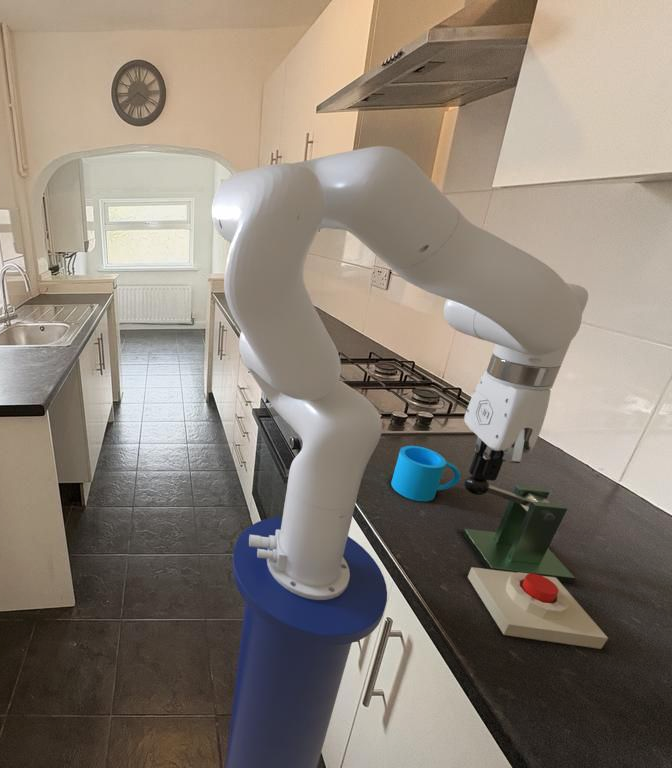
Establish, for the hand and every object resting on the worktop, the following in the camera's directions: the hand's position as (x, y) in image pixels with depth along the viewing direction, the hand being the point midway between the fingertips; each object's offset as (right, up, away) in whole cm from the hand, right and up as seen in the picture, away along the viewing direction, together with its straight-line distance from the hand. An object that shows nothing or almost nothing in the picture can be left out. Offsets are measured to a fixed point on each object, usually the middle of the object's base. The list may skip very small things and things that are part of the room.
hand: (481, 476), depth 66 cm
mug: (+4, -8, +21) cm, 23 cm away
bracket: (+9, -15, +5) cm, 18 cm away
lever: (+4, -4, +1) cm, 6 cm away
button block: (+3, -19, -5) cm, 20 cm away
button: (+3, -16, -6) cm, 17 cm away
